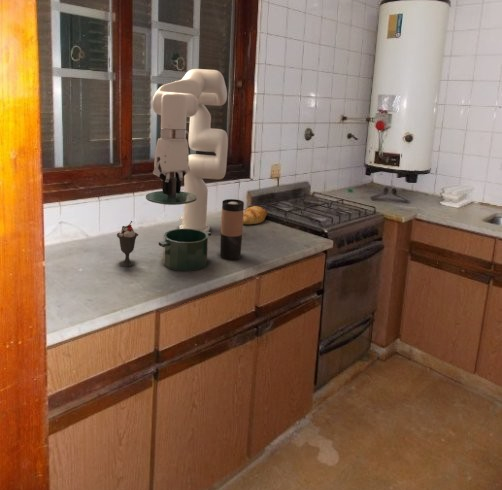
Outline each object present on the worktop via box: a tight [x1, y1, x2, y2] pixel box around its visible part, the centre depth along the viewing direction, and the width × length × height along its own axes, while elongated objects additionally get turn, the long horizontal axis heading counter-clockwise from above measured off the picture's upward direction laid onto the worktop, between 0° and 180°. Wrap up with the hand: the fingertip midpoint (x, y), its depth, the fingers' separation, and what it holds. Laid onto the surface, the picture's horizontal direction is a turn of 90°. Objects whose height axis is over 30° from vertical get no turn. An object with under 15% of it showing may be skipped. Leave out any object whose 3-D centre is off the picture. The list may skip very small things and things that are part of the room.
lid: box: [145, 176, 197, 206], centre depth 136 cm, size 16×16×7 cm
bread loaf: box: [243, 205, 268, 225], centre depth 200 cm, size 21×10×8 cm, turn 150°
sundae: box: [116, 220, 139, 268], centre depth 142 cm, size 7×7×15 cm
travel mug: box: [219, 198, 245, 261], centre depth 154 cm, size 8×8×20 cm
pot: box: [158, 228, 212, 272], centre depth 147 cm, size 15×20×10 cm
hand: (171, 192), depth 136 cm, fingers closed on lid, 3 cm apart
